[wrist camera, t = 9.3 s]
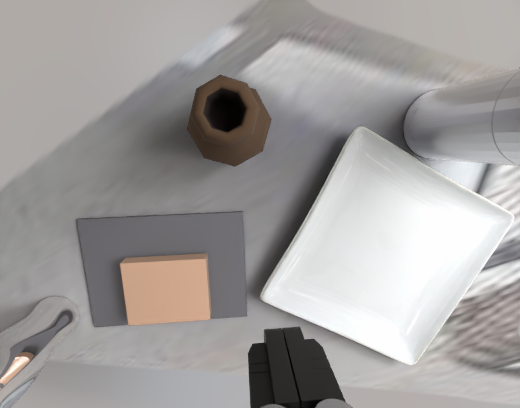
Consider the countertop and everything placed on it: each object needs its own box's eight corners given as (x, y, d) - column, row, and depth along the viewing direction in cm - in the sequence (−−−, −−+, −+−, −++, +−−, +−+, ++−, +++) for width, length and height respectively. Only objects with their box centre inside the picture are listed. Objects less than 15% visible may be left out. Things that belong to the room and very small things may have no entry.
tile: (205, 258, 38) (120, 263, 38) (210, 319, 40) (128, 325, 39) (207, 251, 41) (127, 256, 40) (211, 309, 43) (134, 314, 42)
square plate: (347, 123, 40) (358, 121, 36) (496, 211, 44) (521, 217, 40) (255, 288, 44) (257, 302, 40) (401, 353, 48) (415, 371, 44)
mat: (242, 211, 40) (242, 212, 40) (247, 314, 44) (247, 316, 43) (78, 218, 39) (76, 219, 38) (96, 325, 42) (94, 327, 42)
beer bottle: (197, 102, 37) (131, 33, 14) (257, 96, 38) (293, 18, 14) (206, 163, 39) (161, 194, 15) (264, 156, 39) (305, 176, 16)
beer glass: (93, 315, 42) (17, 407, 27) (60, 345, 42) (-32, 451, 28) (54, 283, 40) (-48, 362, 26) (20, 314, 41) (-99, 410, 26)
